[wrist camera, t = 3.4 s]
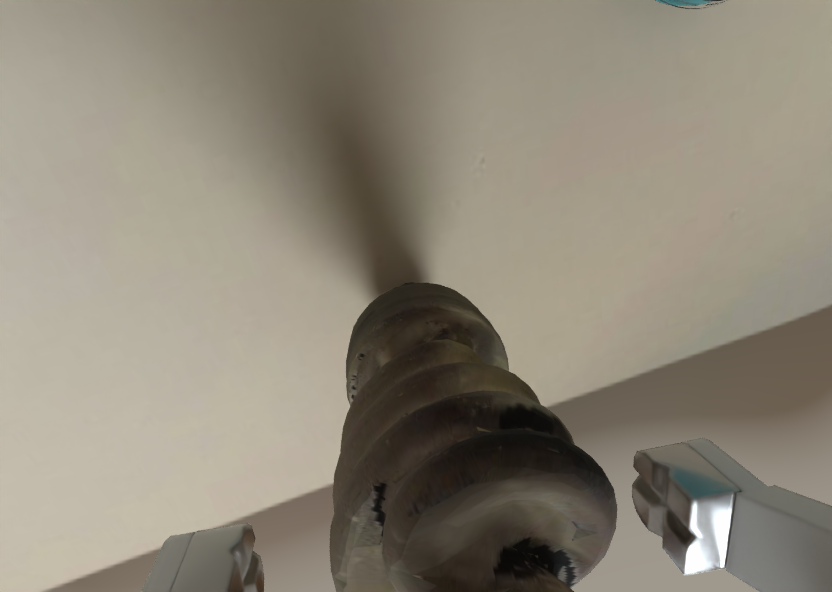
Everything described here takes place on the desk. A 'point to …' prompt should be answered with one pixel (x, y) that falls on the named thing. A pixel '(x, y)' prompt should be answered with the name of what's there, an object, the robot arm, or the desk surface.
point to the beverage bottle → (687, 2)
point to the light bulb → (456, 462)
